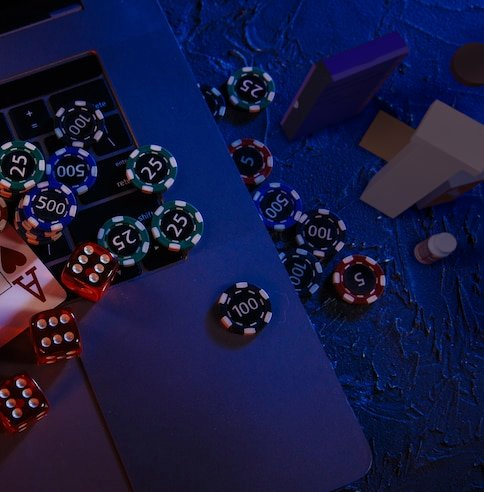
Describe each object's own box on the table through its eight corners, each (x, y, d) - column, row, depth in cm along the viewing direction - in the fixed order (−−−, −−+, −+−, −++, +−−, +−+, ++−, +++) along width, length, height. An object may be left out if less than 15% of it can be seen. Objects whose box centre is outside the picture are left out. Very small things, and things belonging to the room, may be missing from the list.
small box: (418, 210, 130) (450, 188, 118) (406, 183, 132) (437, 158, 119) (453, 201, 131) (489, 178, 118) (441, 174, 133) (476, 148, 120)
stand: (416, 197, 131) (502, 135, 102) (399, 227, 129) (482, 172, 100) (366, 168, 133) (436, 98, 104) (348, 197, 131) (415, 134, 102)
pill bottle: (418, 266, 127) (439, 256, 119) (410, 245, 128) (430, 233, 120) (440, 261, 127) (462, 251, 119) (432, 240, 129) (453, 228, 120)
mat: (428, 138, 135) (429, 137, 134) (408, 173, 133) (408, 172, 132) (379, 110, 137) (380, 109, 136) (358, 144, 134) (359, 144, 134)
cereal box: (349, 95, 138) (397, 29, 114) (360, 113, 136) (410, 50, 113) (280, 123, 136) (314, 62, 113) (290, 141, 135) (327, 83, 111)
